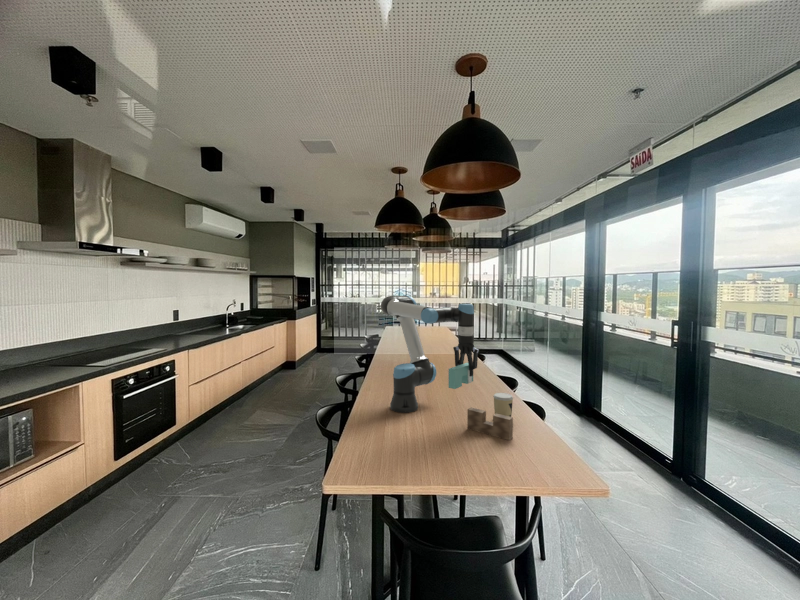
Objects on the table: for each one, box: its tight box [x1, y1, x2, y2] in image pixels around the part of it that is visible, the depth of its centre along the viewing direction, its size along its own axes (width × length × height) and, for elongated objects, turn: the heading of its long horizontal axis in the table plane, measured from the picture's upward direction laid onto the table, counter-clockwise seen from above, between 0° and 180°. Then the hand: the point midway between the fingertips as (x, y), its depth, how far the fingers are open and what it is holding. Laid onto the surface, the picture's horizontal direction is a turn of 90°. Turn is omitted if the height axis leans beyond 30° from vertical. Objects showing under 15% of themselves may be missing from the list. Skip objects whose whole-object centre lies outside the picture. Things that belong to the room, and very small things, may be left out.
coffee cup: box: [492, 392, 514, 417], centre depth 169 cm, size 9×9×12 cm
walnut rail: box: [466, 407, 514, 441], centre depth 152 cm, size 20×4×9 cm, turn 50°
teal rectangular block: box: [448, 362, 474, 390], centre depth 165 cm, size 4×18×9 cm, turn 140°
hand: (465, 381), depth 169 cm, fingers closed on teal rectangular block, 3 cm apart
